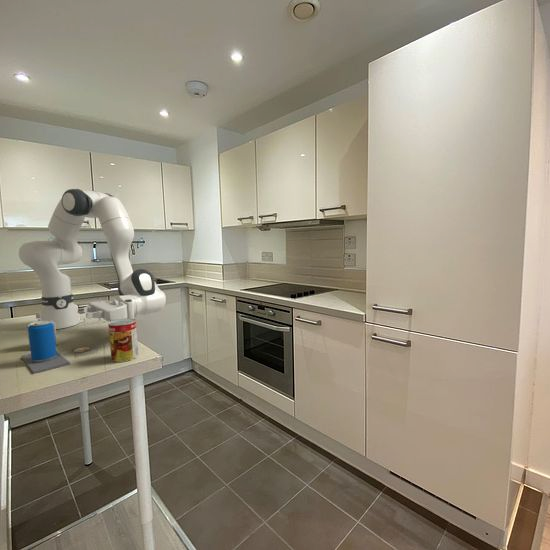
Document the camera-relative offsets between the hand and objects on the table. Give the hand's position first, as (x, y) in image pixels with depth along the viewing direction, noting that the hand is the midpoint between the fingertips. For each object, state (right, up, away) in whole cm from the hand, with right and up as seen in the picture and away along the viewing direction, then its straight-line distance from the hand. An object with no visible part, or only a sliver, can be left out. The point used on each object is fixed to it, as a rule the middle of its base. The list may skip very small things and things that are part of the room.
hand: (82, 313), depth 107 cm
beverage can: (-7, -14, -8) cm, 17 cm away
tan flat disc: (-1, -13, +2) cm, 13 cm away
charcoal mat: (-7, -14, -8) cm, 18 cm away
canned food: (+18, -14, -7) cm, 24 cm away
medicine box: (-19, -13, +7) cm, 24 cm away
